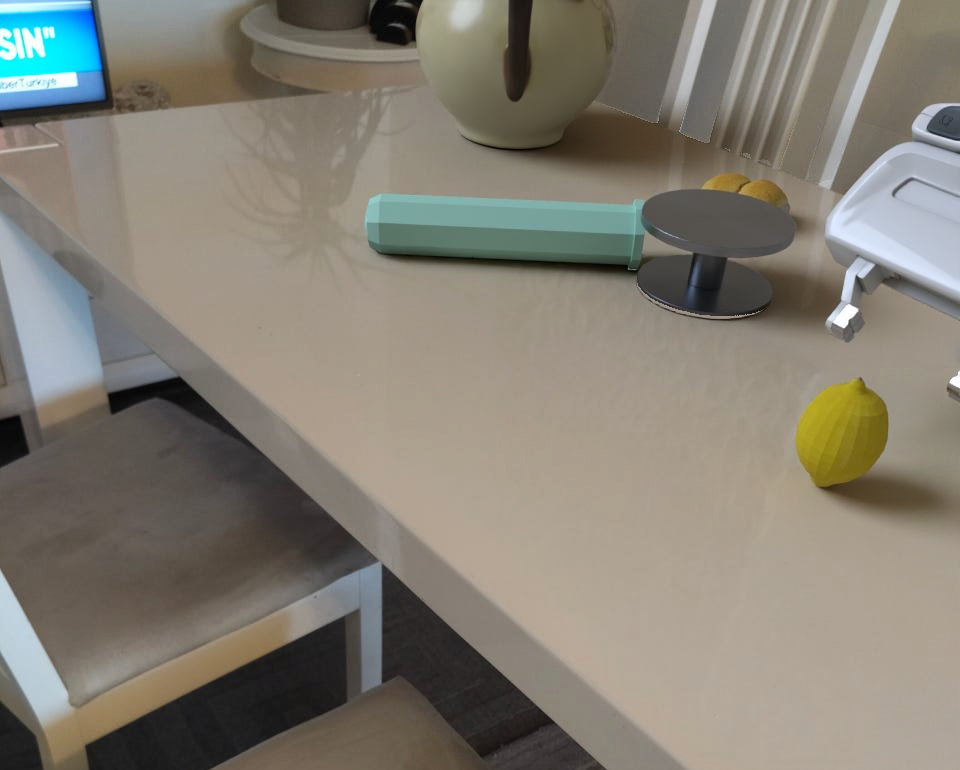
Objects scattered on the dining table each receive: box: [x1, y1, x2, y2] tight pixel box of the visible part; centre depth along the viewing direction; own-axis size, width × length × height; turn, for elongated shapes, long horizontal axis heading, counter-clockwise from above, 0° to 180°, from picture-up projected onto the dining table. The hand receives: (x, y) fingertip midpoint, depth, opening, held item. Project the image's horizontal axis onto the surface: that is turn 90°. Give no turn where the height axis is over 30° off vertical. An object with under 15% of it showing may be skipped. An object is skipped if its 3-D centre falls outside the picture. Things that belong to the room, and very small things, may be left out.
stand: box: [636, 188, 797, 316], centre depth 85 cm, size 13×13×6 cm
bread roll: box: [700, 172, 791, 215], centre depth 98 cm, size 8×9×4 cm
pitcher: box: [415, 0, 618, 150], centre depth 106 cm, size 22×24×25 cm
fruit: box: [795, 376, 890, 488], centre depth 63 cm, size 6×6×8 cm
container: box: [363, 192, 646, 270], centre depth 88 cm, size 6×6×25 cm
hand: (893, 365), depth 62 cm, fingers open, 8 cm apart
